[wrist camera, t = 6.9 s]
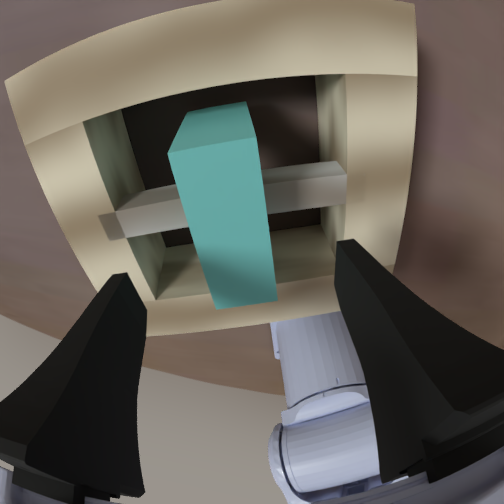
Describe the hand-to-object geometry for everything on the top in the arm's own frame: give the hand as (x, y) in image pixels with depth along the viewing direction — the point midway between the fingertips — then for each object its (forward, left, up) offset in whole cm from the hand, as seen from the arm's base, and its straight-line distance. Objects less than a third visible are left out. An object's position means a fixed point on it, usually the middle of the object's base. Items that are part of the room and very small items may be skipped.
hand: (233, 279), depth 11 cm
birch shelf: (0, 0, -10) cm, 10 cm away
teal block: (0, 0, -8) cm, 8 cm away
